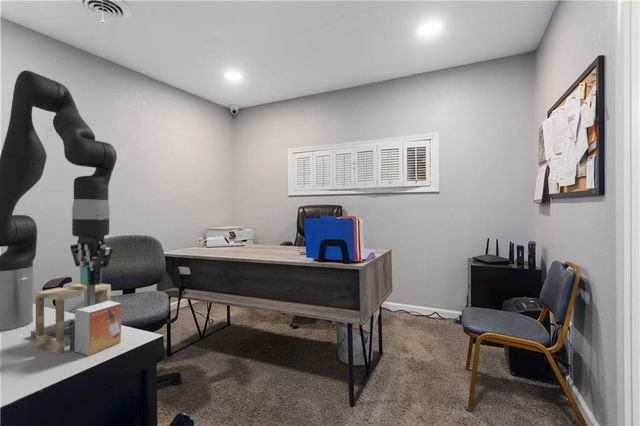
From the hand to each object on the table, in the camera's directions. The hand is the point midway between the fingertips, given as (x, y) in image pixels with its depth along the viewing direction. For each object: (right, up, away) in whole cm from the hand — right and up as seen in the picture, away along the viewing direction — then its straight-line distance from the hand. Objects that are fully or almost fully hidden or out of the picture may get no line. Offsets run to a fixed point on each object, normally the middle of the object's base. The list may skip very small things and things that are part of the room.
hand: (91, 283), depth 75 cm
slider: (0, -16, 0) cm, 16 cm away
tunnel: (-6, -16, +3) cm, 17 cm away
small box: (+3, -16, -1) cm, 16 cm away
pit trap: (-15, -16, +8) cm, 23 cm away
